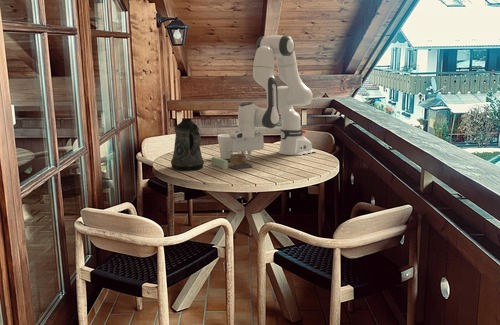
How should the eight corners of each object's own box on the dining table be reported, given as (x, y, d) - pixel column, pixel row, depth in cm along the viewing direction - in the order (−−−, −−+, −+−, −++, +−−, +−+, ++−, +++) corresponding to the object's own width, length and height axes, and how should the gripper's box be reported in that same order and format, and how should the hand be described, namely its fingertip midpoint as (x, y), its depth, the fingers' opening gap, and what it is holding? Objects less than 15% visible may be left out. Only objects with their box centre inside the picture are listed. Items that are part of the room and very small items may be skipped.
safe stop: (215, 163, 266) (215, 156, 265) (227, 168, 254) (227, 160, 253) (212, 164, 265) (211, 156, 264) (224, 169, 253) (224, 161, 252)
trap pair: (232, 160, 275) (232, 158, 275) (251, 167, 257) (251, 165, 257) (215, 162, 270) (215, 160, 270) (234, 169, 252) (234, 167, 252)
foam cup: (232, 160, 275) (232, 136, 272) (216, 159, 277) (216, 136, 274) (236, 157, 284) (236, 134, 281) (220, 156, 286) (220, 133, 283)
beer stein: (183, 163, 267) (182, 116, 262) (214, 166, 258) (214, 118, 253) (164, 169, 253) (162, 119, 248) (196, 173, 244) (195, 122, 239)
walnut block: (240, 162, 269) (240, 153, 268) (245, 164, 264) (245, 155, 263) (230, 163, 266) (230, 154, 265) (235, 165, 261) (235, 156, 260)
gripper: (260, 131, 272) (259, 156, 275) (226, 133, 262) (226, 159, 264) (266, 132, 267) (266, 158, 269) (232, 135, 256) (232, 162, 259)
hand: (246, 159), depth 267 cm, fingers closed
